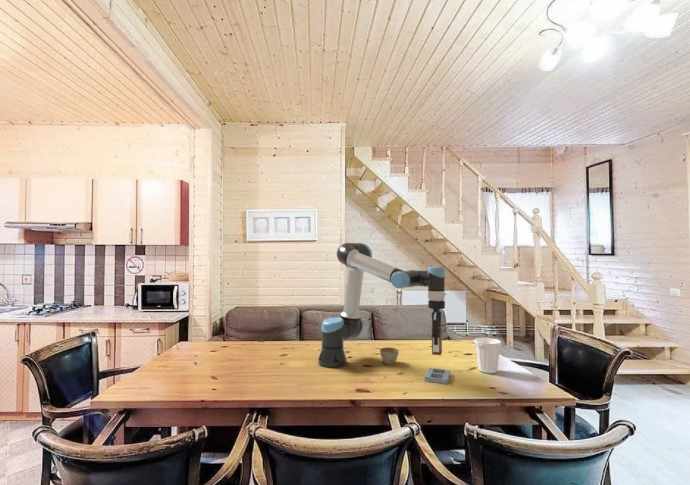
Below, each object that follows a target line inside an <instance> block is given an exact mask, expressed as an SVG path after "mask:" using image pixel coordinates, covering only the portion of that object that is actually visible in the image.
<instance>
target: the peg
mask: <svg viewBox="0 0 690 485" xmlns="http://www.w3.org/2000/svg"><path fill="white" fill-rule="evenodd" d="M442 329H443V328H442V326H441V327H439V352H433V337H431V355H432V356H442V354H443V330H442Z"/></svg>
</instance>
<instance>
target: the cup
mask: <svg viewBox="0 0 690 485" xmlns="http://www.w3.org/2000/svg"><path fill="white" fill-rule="evenodd" d="M474 344H475V347H476V348H475V349H476V356H477V364H478V371H479V372H480V373H482V374H486V375H495V374H497V373H498V368H499V367H498V366H499V357H500V351H501V349H500V348H501V346H502V341H501V340H500V339H498V338H490V337H476V338H474Z"/></svg>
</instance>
